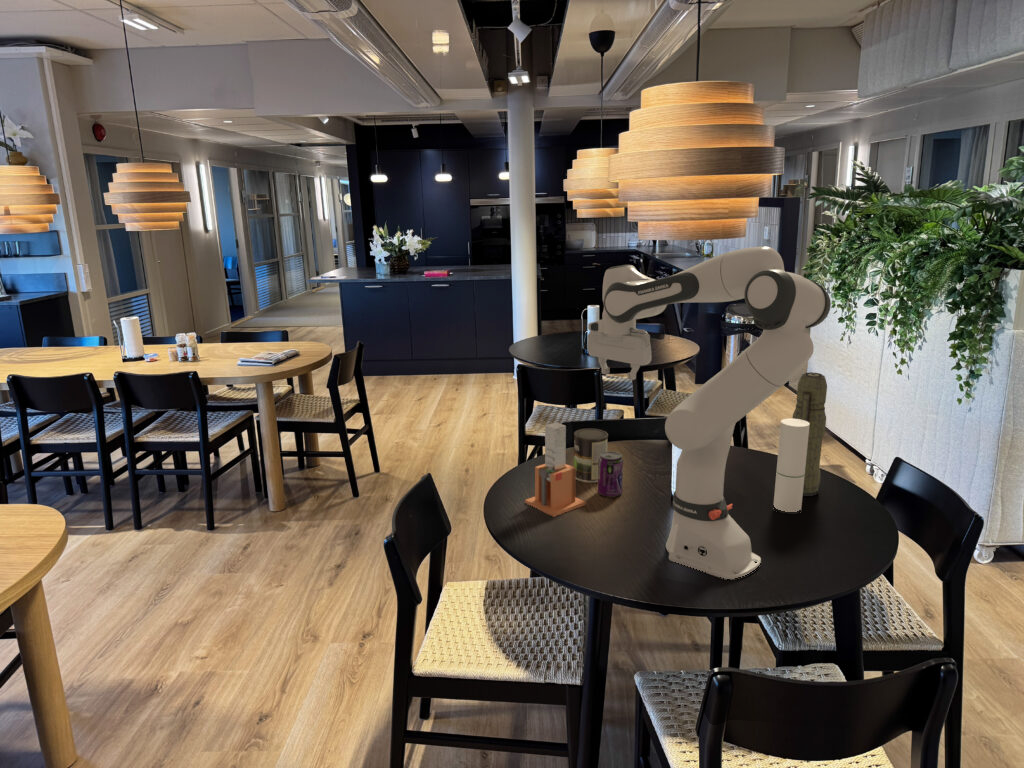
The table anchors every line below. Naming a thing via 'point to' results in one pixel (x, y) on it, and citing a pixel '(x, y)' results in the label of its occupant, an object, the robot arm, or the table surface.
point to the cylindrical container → (791, 464)
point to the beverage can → (610, 474)
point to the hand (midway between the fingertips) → (618, 376)
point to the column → (555, 448)
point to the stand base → (555, 491)
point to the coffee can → (588, 453)
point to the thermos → (812, 423)
